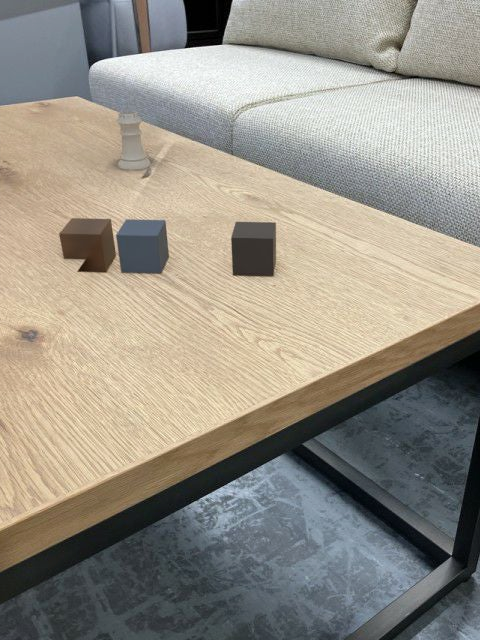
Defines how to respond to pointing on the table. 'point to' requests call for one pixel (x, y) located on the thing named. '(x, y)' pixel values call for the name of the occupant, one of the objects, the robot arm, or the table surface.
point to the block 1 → (89, 243)
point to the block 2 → (143, 246)
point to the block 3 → (254, 248)
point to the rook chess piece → (132, 143)
